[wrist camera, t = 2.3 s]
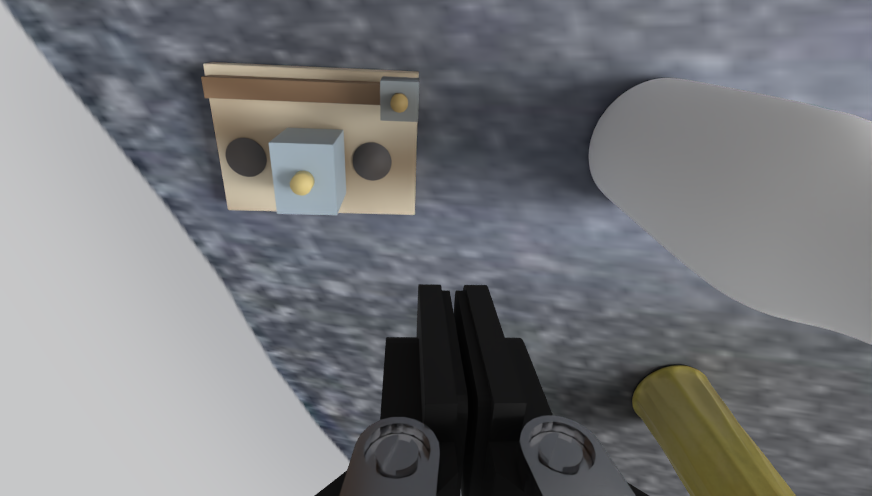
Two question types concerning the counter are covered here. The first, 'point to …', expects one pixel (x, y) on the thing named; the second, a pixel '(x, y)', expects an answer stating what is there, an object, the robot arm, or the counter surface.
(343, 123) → the board
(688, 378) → the vase
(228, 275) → the counter surface
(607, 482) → the robot arm
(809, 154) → the milk bottle
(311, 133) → the blue block with knob
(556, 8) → the counter surface
